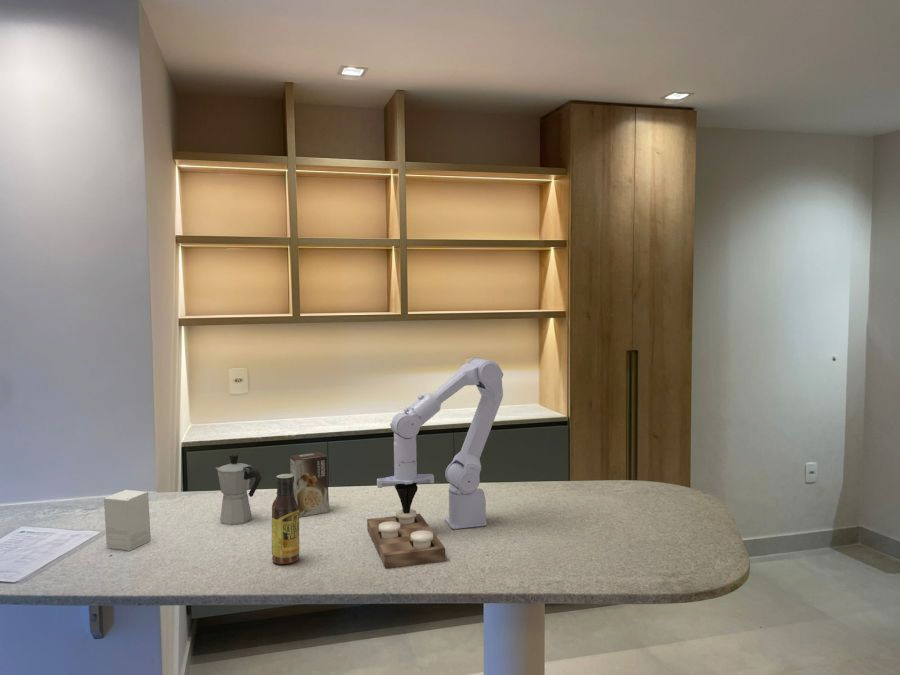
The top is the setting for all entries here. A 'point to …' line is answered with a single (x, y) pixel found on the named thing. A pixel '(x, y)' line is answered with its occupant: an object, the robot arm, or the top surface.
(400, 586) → the top surface
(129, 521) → the supplement box
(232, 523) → the coffee maker
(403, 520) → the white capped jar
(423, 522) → the knob panel
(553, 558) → the top surface
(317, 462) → the coffee box
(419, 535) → the knob camera side
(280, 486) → the sauce bottle
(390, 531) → the knob middle
